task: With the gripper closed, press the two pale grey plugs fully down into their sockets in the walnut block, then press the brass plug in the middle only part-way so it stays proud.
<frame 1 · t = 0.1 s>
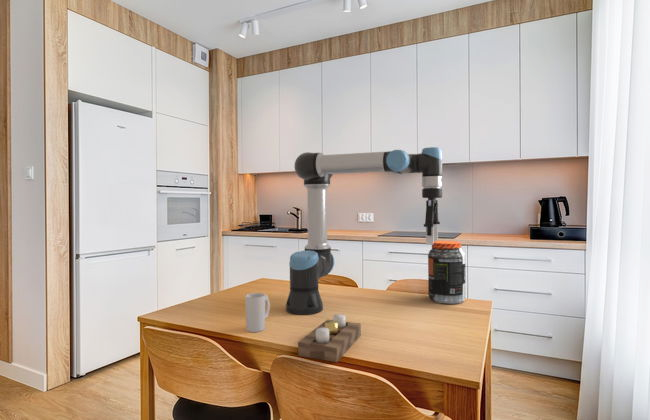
hand: (432, 242, 148), 28 cm above the table, fingers open, 13 cm apart
plug brass: (331, 328, 118), point 5 cm above the table, slide at 0.0 cm
mug: (259, 328, 134), on the table
supplement tub: (446, 300, 169), on the table
socket block: (331, 344, 118), on the table
plug grey 2: (339, 322, 124), point 5 cm above the table, slide at 0.0 cm
plug grey 1: (322, 336, 111), point 5 cm above the table, slide at 0.0 cm
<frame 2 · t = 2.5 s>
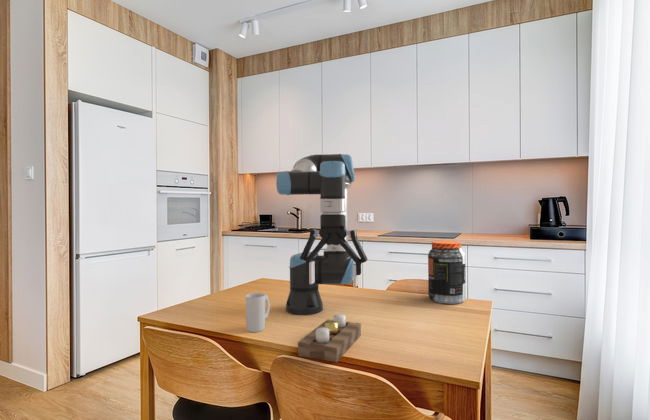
hand: (333, 284, 113), 20 cm above the table, fingers open, 13 cm apart
nothing on the table moved.
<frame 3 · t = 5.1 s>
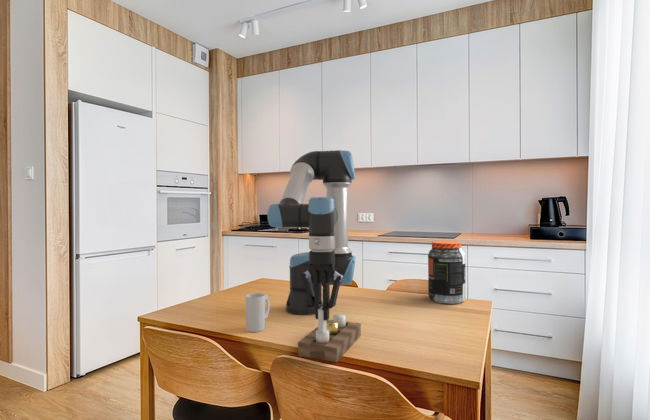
hand: (322, 330, 111), 7 cm above the table, fingers closed
plug grey 1: (322, 338, 111), point 5 cm above the table, slide at 0.4 cm, touching gripper
everything else where it was.
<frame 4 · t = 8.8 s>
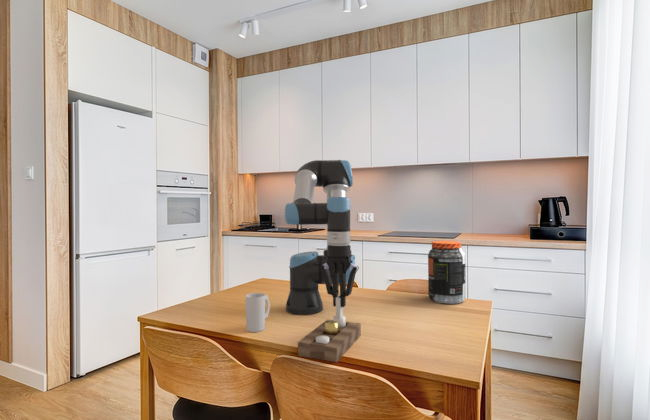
hand: (339, 316, 124), 7 cm above the table, fingers closed
plug grey 2: (339, 323, 124), point 5 cm above the table, slide at 0.3 cm, touching gripper
plug grey 1: (322, 344, 111), point 3 cm above the table, slide at 2.4 cm
everything else where it was.
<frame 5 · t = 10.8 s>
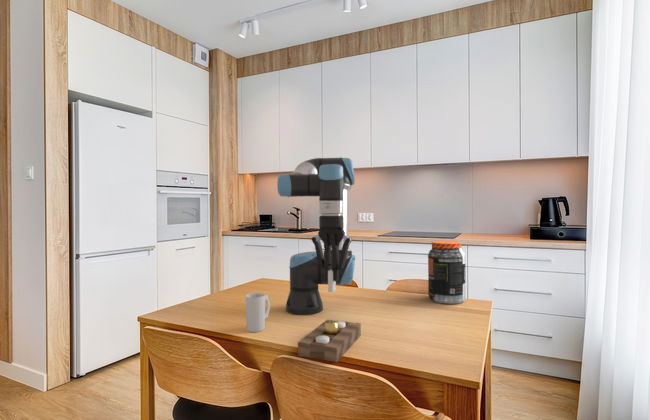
hand: (331, 291, 118), 17 cm above the table, fingers closed
plug grey 2: (339, 329, 124), point 3 cm above the table, slide at 2.4 cm
everything else where it was.
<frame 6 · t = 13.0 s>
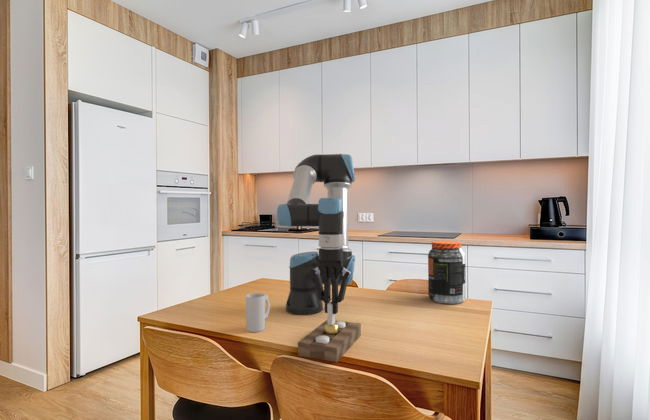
hand: (331, 323, 118), 7 cm above the table, fingers closed
plug brass: (331, 330, 118), point 4 cm above the table, slide at 0.6 cm, touching gripper
everything else where it was.
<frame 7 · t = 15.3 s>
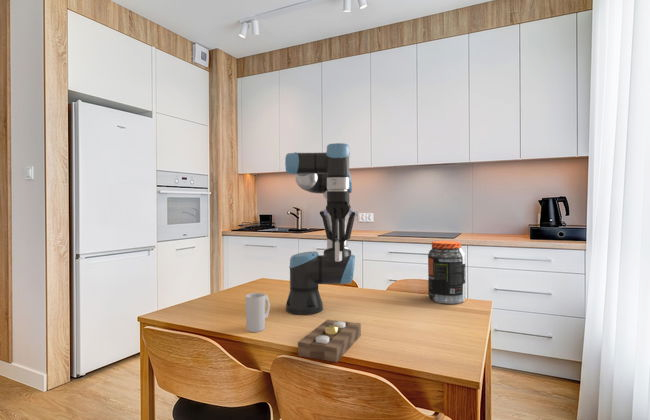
hand: (338, 260, 128), 24 cm above the table, fingers closed
plug brass: (331, 333, 118), point 4 cm above the table, slide at 1.3 cm
everything else where it was.
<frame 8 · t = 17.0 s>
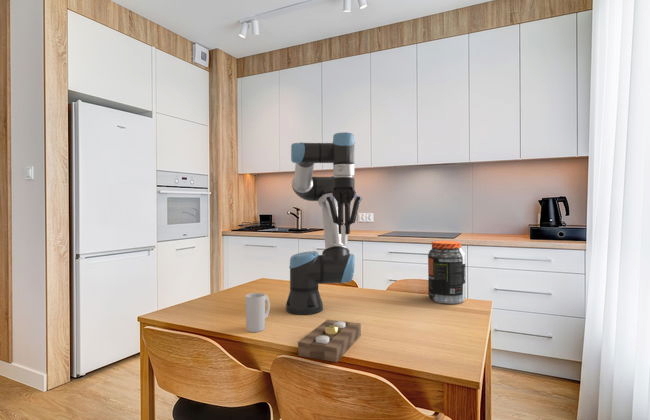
hand: (344, 243, 136), 29 cm above the table, fingers closed
nothing on the table moved.
at the end: plug grey 1 slide at 2.4 cm; plug grey 2 slide at 2.4 cm; plug brass slide at 1.3 cm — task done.
